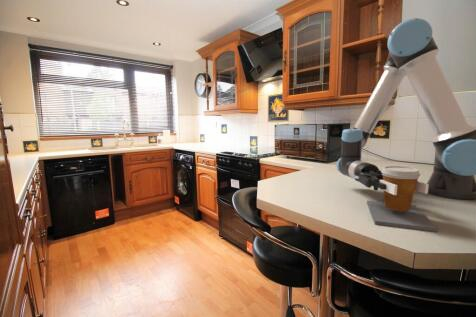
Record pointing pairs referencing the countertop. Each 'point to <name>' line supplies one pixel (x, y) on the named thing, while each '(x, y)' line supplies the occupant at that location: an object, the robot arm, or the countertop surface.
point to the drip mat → (400, 217)
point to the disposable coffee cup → (400, 186)
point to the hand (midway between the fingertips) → (411, 189)
